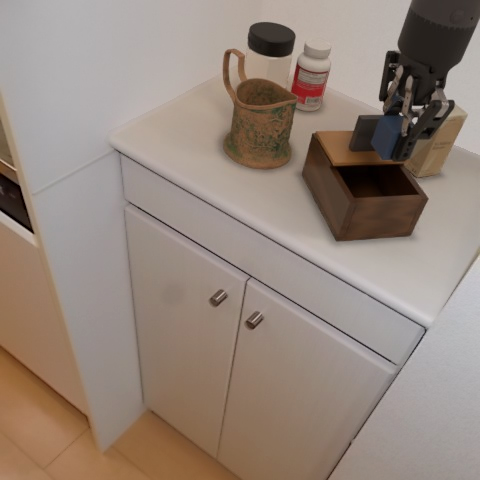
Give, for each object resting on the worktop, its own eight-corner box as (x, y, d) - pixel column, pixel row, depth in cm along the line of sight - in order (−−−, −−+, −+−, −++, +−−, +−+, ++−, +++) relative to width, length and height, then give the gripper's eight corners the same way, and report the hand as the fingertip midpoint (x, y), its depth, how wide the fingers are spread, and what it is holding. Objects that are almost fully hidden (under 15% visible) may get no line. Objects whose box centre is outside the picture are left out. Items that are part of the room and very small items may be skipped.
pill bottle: (299, 92, 102) (312, 32, 94) (326, 104, 100) (342, 44, 92) (282, 103, 98) (294, 42, 90) (310, 116, 97) (325, 55, 88)
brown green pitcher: (246, 108, 96) (256, 39, 87) (305, 159, 87) (323, 89, 78) (192, 119, 91) (196, 48, 82) (248, 175, 82) (260, 102, 73)
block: (396, 142, 71) (407, 115, 68) (409, 159, 69) (421, 132, 66) (370, 143, 70) (380, 115, 67) (382, 160, 68) (393, 132, 65)
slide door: (386, 133, 81) (399, 98, 76) (409, 163, 76) (424, 128, 72) (314, 134, 78) (324, 98, 73) (333, 166, 73) (344, 129, 69)
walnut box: (368, 172, 87) (383, 131, 82) (410, 235, 78) (430, 195, 72) (301, 174, 84) (312, 132, 79) (336, 241, 75) (351, 199, 69)
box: (416, 178, 88) (443, 116, 79) (401, 164, 90) (426, 102, 82) (440, 174, 90) (469, 113, 81) (425, 160, 92) (452, 99, 84)
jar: (240, 84, 101) (249, 17, 92) (282, 90, 102) (295, 24, 93) (239, 107, 95) (248, 38, 86) (283, 113, 96) (296, 46, 87)
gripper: (510, 39, 53) (439, 181, 66) (443, -14, 62) (393, 121, 75) (446, 37, 51) (387, 183, 64) (387, -17, 60) (345, 121, 73)
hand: (390, 149), depth 70 cm, fingers closed on block, 4 cm apart
